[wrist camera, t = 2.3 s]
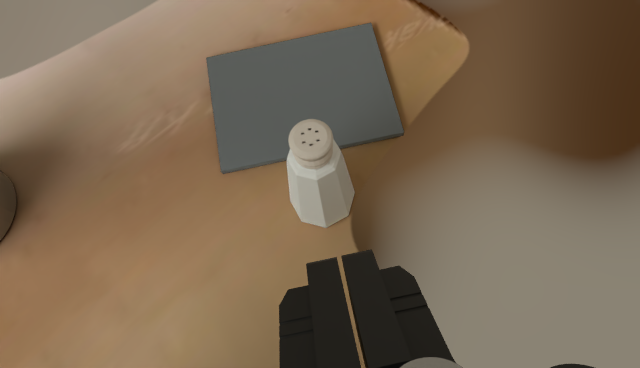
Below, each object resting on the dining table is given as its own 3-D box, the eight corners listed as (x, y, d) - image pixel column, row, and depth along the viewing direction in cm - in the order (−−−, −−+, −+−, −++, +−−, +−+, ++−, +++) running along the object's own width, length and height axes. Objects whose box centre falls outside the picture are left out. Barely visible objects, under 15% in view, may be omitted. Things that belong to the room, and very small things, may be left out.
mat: (403, 135, 41) (403, 132, 40) (222, 173, 41) (220, 171, 40) (370, 27, 45) (371, 22, 45) (208, 61, 45) (206, 57, 45)
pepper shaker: (359, 224, 38) (360, 171, 28) (293, 232, 38) (270, 182, 28) (350, 163, 40) (348, 93, 30) (287, 172, 40) (264, 105, 30)
